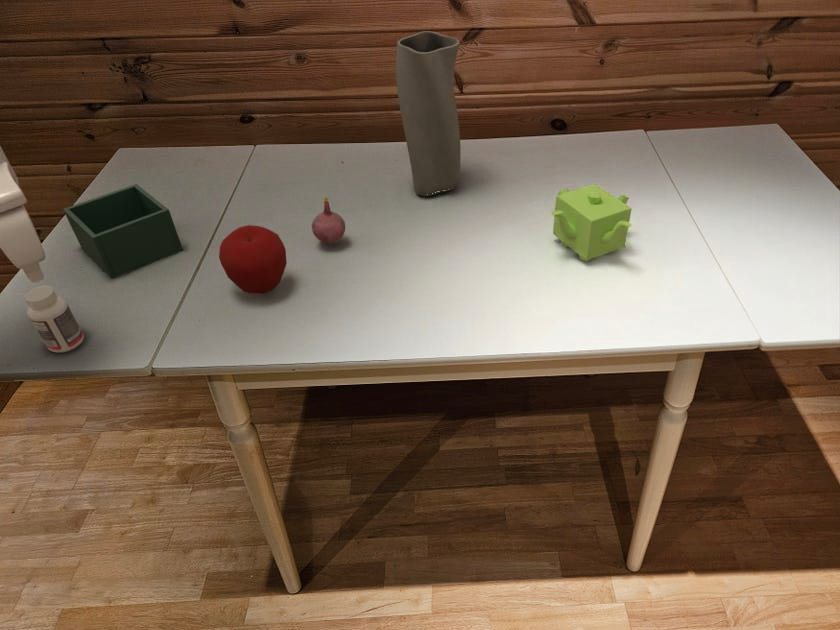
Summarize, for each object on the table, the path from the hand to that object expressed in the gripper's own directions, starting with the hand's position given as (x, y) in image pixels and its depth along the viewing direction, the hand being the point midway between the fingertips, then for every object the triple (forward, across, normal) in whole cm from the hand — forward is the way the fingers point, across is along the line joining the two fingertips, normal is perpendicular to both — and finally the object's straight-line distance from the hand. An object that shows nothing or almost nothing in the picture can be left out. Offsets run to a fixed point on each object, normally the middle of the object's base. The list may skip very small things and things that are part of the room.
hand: (25, 265), depth 95 cm
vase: (+16, +3, +75) cm, 77 cm away
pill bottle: (+15, 0, -1) cm, 15 cm away
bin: (+15, -19, +18) cm, 30 cm away
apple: (+15, +9, +29) cm, 34 cm away
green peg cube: (+16, +41, +80) cm, 92 cm away
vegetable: (+16, +6, +46) cm, 49 cm away
